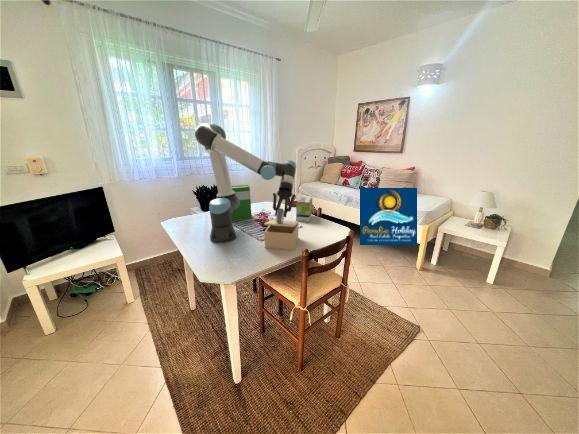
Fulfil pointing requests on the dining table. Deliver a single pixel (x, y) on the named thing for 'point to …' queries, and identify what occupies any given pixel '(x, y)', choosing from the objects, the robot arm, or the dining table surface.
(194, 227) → the dining table surface
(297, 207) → the tea box
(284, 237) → the carton
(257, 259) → the dining table surface
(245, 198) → the green cereal box
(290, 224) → the carton lid
